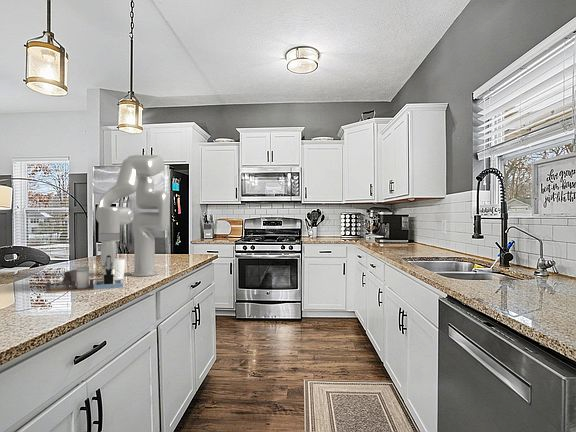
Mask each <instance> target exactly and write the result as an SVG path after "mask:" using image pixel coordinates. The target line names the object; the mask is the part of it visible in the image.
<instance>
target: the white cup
mask: <svg viewBox="0 0 576 432" xmlns="http://www.w3.org/2000/svg"><path fill="white" fill-rule="evenodd" d="M125 265H126V259H125V258H121V257H120V258H117V257H116V260H115V280H121V279H124V277H125V269H126V268H125V267H126V266H125Z"/></svg>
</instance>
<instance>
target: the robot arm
mask: <svg viewBox="0 0 576 432" xmlns="http://www.w3.org/2000/svg"><path fill="white" fill-rule="evenodd" d="M164 162H165V161H164V159H163V157H162V156H161V155H158V154H157V155H156V154H155V155H154V154H153V155H152V154H150V155H149V154H133V155H130V156H128V157H126V158H125V159H123V161H122V163H121V165H120V170H119V172H118V177H117V179H116V182H115V185H113V186H112V187H110V188H109V189H108V190H106V192H104V193H103V195H101V196H100V198H99V200H98V204H97V206H96V211H95V219H96V221H97V223H98V242H100V243H101V245H100V267H101V268H103V266H104V265H105V275H104V284H113V266H115V260H116V258H117V242H120V240H121V237H120V236H121V231H120V230H121V226H122V225H123V226H124V225H129V224H131V223H132V227H133V232H134V233H133V235H134V237H133V239H134V243H133V245H134V247H133V248H134V254H133V257H134V260H133V266H134V267H133V271H131V273H130V276H131V277H152V276H156V275H158V274H159V271H157V270H155V265H156V264H155V262H156V261H155V257H156V255H155V253H156V249H155V248H156V243H155V242H156V241H155V236H154V235H153V234H152V233H151V232H165V231H167V230H168V229H169V226H170V204H171V203H170V196H169V194H168V193H167V192H166V191H165V190H155V181H154V178H153V177H154V176H157V175H159V174H160V173H161V172H162V171H163V169H164V167H165V163H164ZM134 193H135V202H136V203H135V204H136V207H137V208H138V209H141V210H156V211H148V212H147V211H141V212H137V213H134V212H133V211H134V210H132V209H131V208H130V207H127V206H126V207H125V206H112V204H114V202H116V201H118V200H121V199H123V198H125V197H128V196H131V195H132V194H133V195H134ZM157 210H158V212H157ZM106 265H107V267H106ZM110 265H112V266H110Z"/></svg>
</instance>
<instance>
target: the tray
mask: <svg viewBox="0 0 576 432" xmlns="http://www.w3.org/2000/svg"><path fill="white" fill-rule="evenodd" d="M123 279H124V278H122V279H116V280H115V284H104V285H103V280H96V281H94V282H93V285H94V286H93V289H92V291H93V290H95V291H96V290H107V289H108V290H110V289H119V288H120V289H121V288H123V287H124V281H123Z"/></svg>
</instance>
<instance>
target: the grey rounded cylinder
mask: <svg viewBox="0 0 576 432" xmlns="http://www.w3.org/2000/svg"><path fill="white" fill-rule="evenodd" d="M75 270H76V271H77V284H75V286H76V289H86V288H89V285H90V280H89V279H90V278H89V275H90V274H89V273H90V266H77V267H76V269H75Z"/></svg>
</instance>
